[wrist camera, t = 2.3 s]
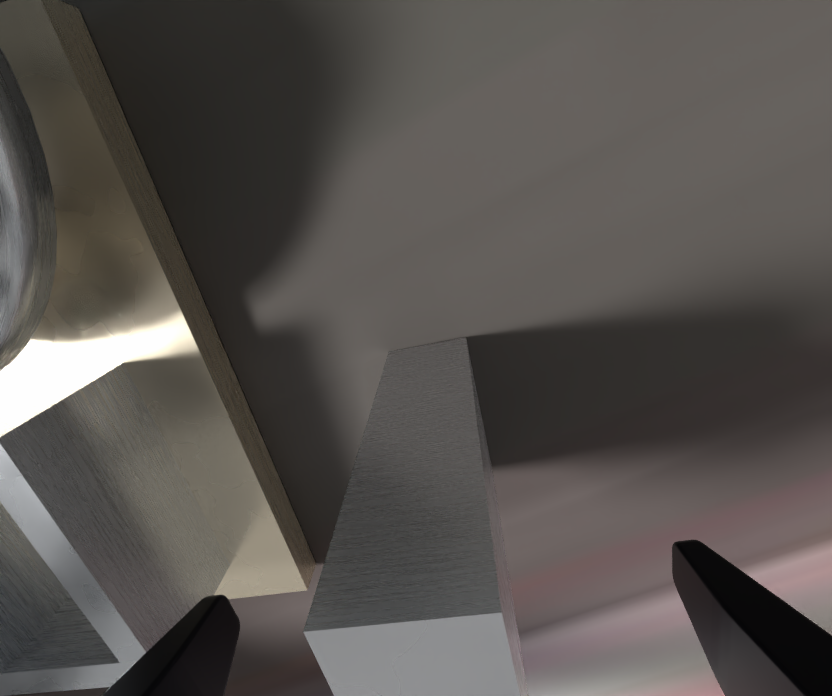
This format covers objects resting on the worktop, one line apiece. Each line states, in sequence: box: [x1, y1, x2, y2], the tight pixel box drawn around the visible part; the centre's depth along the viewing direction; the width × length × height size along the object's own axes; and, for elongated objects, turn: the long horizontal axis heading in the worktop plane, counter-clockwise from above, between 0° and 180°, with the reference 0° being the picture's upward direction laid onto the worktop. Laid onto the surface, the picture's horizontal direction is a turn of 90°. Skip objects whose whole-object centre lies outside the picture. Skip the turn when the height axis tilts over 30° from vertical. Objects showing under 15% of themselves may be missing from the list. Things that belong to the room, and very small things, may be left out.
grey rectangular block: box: [303, 337, 528, 696], centre depth 10 cm, size 5×2×9 cm, turn 13°
